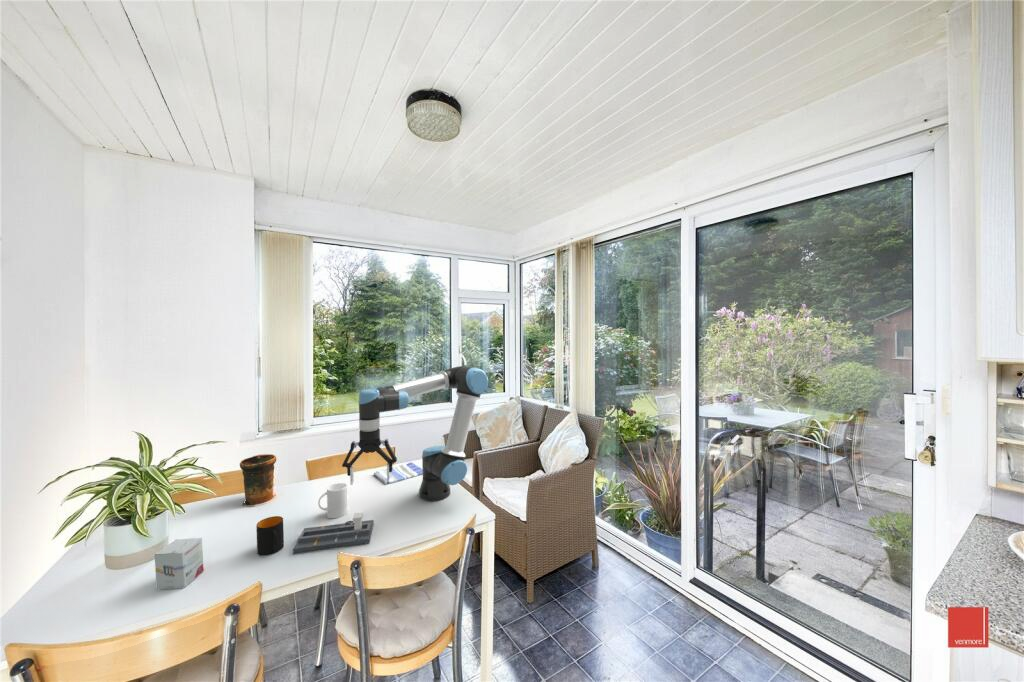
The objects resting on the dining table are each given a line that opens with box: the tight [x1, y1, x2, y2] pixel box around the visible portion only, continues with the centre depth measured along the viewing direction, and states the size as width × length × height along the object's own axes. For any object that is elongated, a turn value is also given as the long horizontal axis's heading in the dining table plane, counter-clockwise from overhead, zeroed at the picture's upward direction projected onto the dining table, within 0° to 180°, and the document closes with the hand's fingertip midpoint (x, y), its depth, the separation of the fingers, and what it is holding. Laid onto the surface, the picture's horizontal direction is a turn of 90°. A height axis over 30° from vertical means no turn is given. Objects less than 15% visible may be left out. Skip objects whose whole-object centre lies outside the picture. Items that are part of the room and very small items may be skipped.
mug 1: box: [256, 515, 285, 557], centre depth 135 cm, size 8×12×10 cm
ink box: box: [154, 537, 204, 591], centre depth 119 cm, size 9×9×12 cm
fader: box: [352, 511, 364, 530], centre depth 145 cm, size 3×4×6 cm
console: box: [292, 519, 375, 555], centre depth 143 cm, size 26×14×3 cm, turn 104°
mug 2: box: [317, 482, 349, 519], centre depth 161 cm, size 12×8×12 cm
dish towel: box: [373, 462, 423, 485], centre depth 204 cm, size 17×24×3 cm
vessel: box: [239, 453, 277, 508], centre depth 174 cm, size 14×14×20 cm
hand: (370, 481), depth 146 cm, fingers open, 13 cm apart
